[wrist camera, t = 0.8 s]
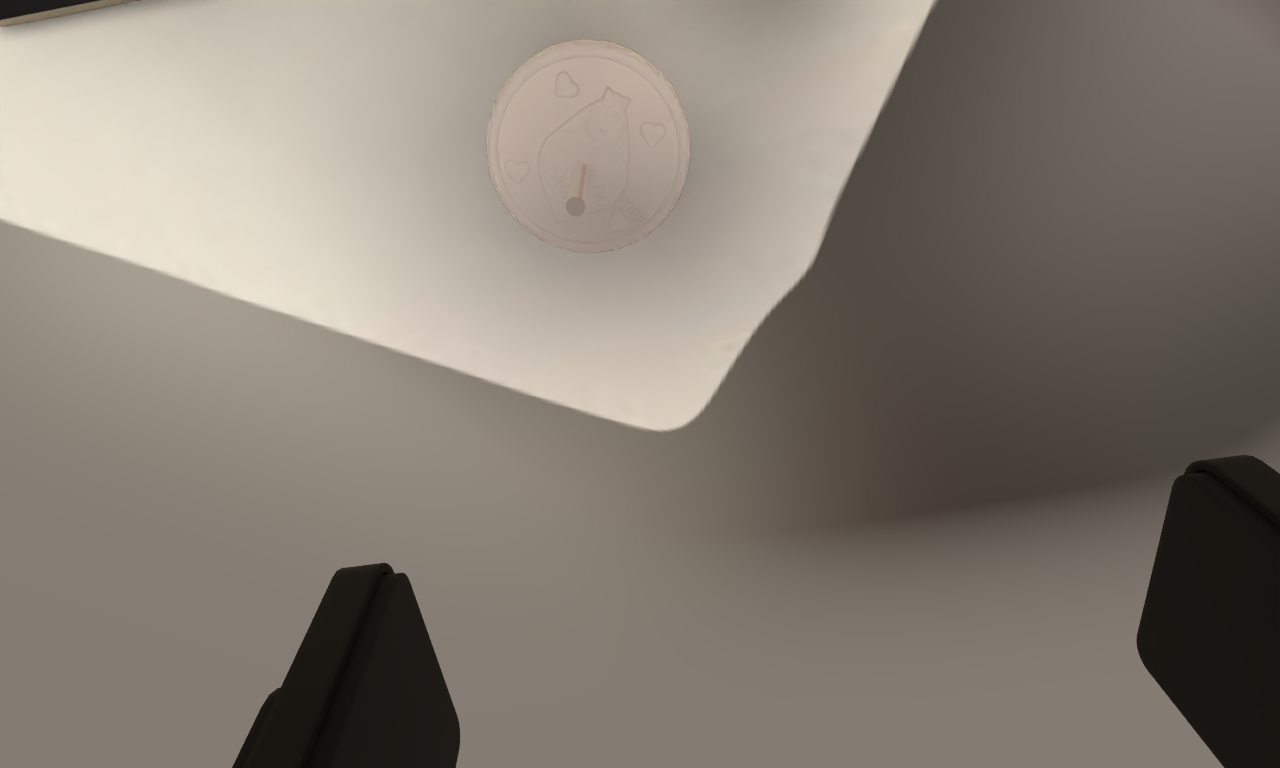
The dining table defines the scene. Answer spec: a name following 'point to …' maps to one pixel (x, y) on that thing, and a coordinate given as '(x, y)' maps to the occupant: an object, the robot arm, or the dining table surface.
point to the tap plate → (47, 9)
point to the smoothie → (588, 146)
